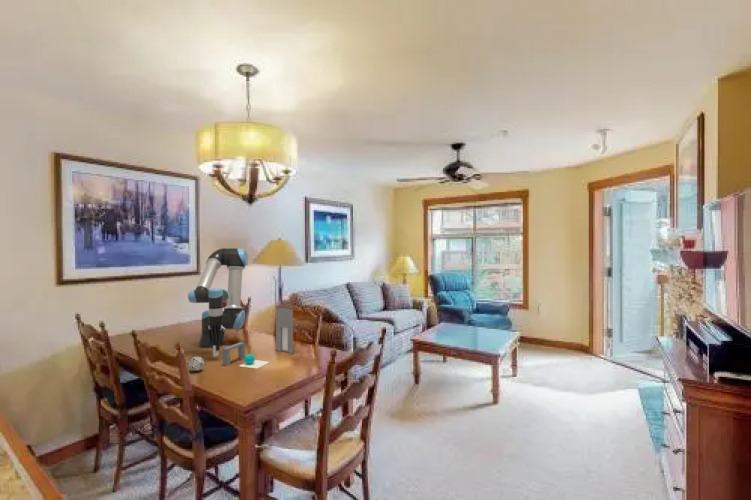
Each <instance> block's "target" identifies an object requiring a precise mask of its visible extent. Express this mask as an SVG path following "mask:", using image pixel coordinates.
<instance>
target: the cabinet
mask: <svg viewBox="0 0 751 500" xmlns="http://www.w3.org/2000/svg"><path fill="white" fill-rule="evenodd" d="M275 352H281V353H285V354H287V353H288V354H289V355H293V354H294V307H293V305H292V303H290V302H288V303H286V304H281V305H276V306H275Z"/></svg>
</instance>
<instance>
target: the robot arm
mask: <svg viewBox="0 0 751 500" xmlns="http://www.w3.org/2000/svg"><path fill="white" fill-rule="evenodd" d="M246 250H247V249H245V248H240V247H238V248H234V247H233V248H231V247H230V248H225V247H224V248H219V249H217V250H215V251H213V252H212V253H211V254H210V255H208V258H207V259H206V262H205V268H204V270H203V272H202V275H201V276H200V279H199V280H198V284H197V285H196V287H195V289H193V290H192V289H191V290H190V291H188V296H187V299H188V301H189V303H193V304H208V309H207V310H204V311H202V313H201V335H200V339H199V341H198V347H200V348H212V349H211V350H212V355H213V357H218V356H219V354H220V352H219V351H220V347H221V346H223V345H224V344H225V343H224V342H225V340H224V337H225V333H226V330H236V329H241V328H242V327H243V325H244V323H245V320H246V311H245V310H244V309H243V307H242V306H241V299H242V283H243V281H242V280H243V279H242V278H243V270H245V267H246V266H248V264H249V259H248V254H247V251H246ZM222 266H226V269H227V270H228V277H227V281H228V282H227V289H225V288H224V289H223V288H219V287H217V288H216V287H215V288H211V286H212V284H213V282H214V280H215V277H216V275H217V273H218V270H219V269H221V267H222ZM225 302H226V306H225V307H224V305H223V303H225Z"/></svg>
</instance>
